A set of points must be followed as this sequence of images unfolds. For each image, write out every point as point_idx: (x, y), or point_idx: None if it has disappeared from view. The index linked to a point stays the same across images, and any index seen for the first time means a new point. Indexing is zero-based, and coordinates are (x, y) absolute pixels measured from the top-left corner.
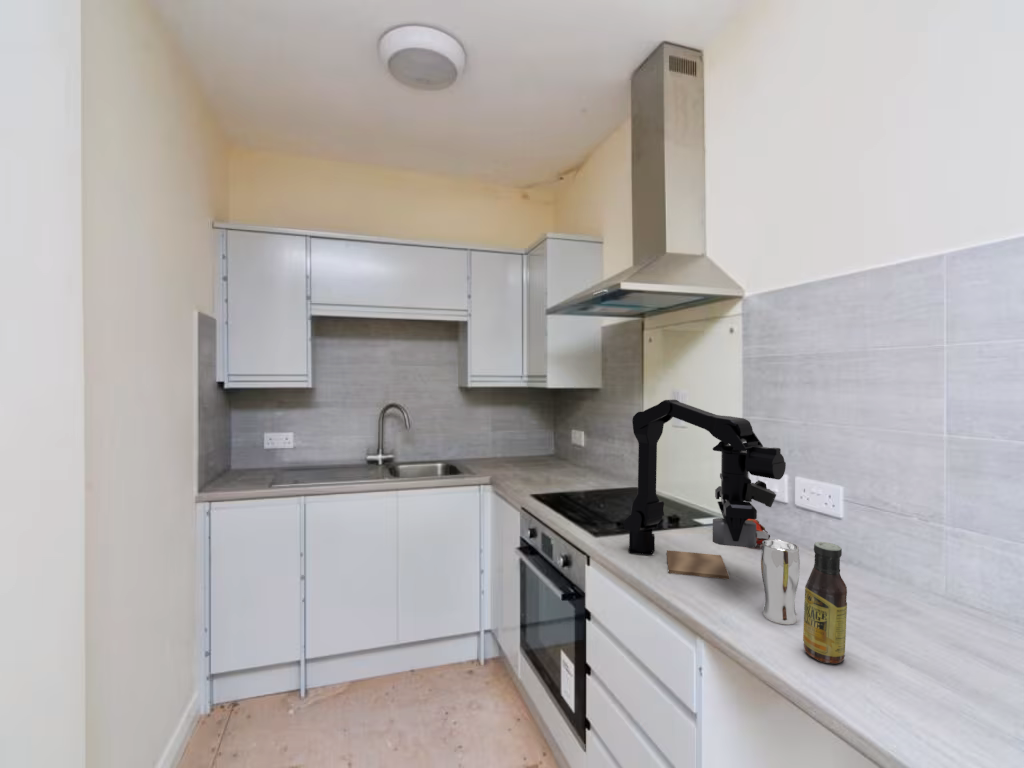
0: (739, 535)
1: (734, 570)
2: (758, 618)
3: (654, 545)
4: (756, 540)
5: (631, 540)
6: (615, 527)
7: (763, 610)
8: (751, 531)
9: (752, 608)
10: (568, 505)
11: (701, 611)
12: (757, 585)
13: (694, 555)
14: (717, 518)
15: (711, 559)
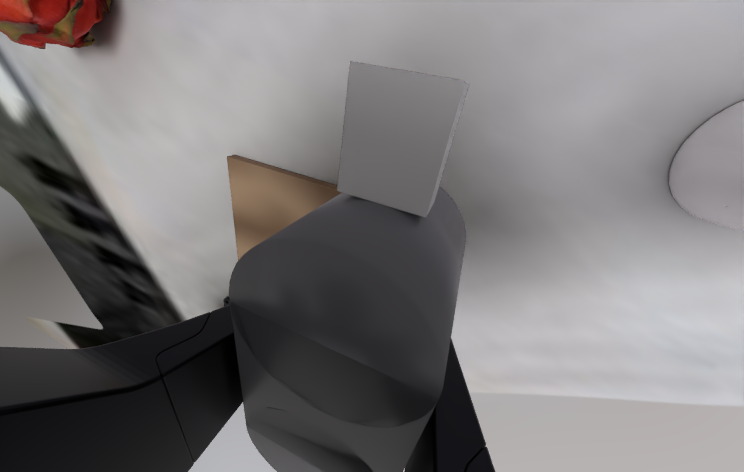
0: (463, 378)
1: (314, 150)
2: (726, 250)
3: None
4: None
5: None
6: (155, 311)
7: (711, 222)
8: (453, 309)
9: (628, 230)
10: (101, 336)
11: (604, 375)
12: None
13: (252, 234)
14: (257, 446)
15: (266, 200)
